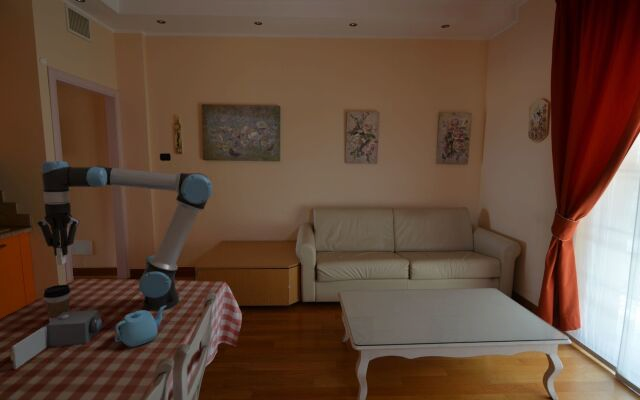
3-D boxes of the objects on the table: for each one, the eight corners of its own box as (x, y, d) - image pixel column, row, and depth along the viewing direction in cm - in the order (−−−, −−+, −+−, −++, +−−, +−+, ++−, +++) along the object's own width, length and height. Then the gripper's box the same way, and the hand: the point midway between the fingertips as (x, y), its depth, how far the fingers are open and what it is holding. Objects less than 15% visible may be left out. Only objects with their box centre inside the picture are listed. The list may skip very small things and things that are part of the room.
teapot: (172, 309, 122) (118, 325, 109) (173, 335, 123) (119, 354, 111) (160, 298, 131) (109, 312, 118) (161, 323, 132) (110, 339, 119)
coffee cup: (57, 329, 125) (54, 292, 123) (40, 326, 127) (37, 290, 125) (77, 319, 133) (75, 284, 131) (61, 316, 135) (58, 282, 133)
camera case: (106, 329, 126) (105, 307, 125) (93, 343, 117) (92, 320, 115) (64, 331, 124) (63, 310, 122) (48, 346, 114) (46, 323, 113)
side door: (16, 368, 101) (14, 346, 100) (11, 368, 101) (9, 346, 100) (48, 346, 114) (47, 326, 113) (43, 346, 113) (42, 326, 113)
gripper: (82, 201, 125) (86, 259, 128) (43, 201, 122) (48, 261, 125) (71, 204, 117) (75, 266, 120) (30, 204, 115) (35, 267, 118)
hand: (61, 263), depth 123 cm, fingers closed
